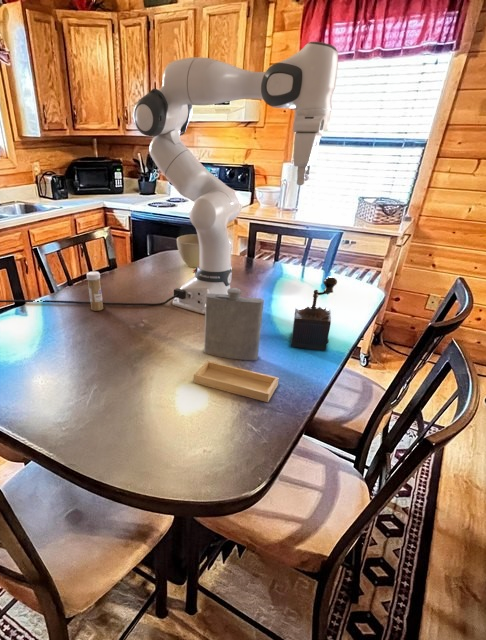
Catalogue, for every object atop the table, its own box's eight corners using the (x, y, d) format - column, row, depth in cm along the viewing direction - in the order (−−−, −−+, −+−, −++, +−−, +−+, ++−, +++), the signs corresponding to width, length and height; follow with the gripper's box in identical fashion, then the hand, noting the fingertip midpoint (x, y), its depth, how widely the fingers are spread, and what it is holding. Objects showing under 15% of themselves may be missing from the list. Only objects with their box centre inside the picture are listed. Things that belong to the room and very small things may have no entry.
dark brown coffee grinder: (328, 351, 122) (340, 293, 113) (289, 347, 125) (298, 289, 115) (327, 329, 135) (338, 275, 125) (292, 326, 138) (300, 272, 128)
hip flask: (258, 356, 121) (265, 289, 110) (256, 362, 117) (263, 295, 107) (205, 348, 125) (207, 284, 114) (202, 354, 122) (203, 288, 111)
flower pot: (174, 270, 191) (173, 243, 185) (180, 259, 206) (179, 233, 200) (213, 271, 188) (213, 244, 182) (216, 260, 203) (217, 234, 197)
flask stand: (193, 382, 109) (193, 374, 108) (207, 367, 115) (207, 360, 114) (267, 402, 101) (268, 394, 99) (277, 385, 107) (278, 377, 106)
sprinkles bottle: (102, 311, 151) (97, 275, 143) (89, 311, 151) (84, 274, 144) (104, 306, 154) (100, 271, 147) (92, 306, 155) (88, 270, 148)
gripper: (303, 122, 115) (296, 177, 123) (292, 123, 99) (285, 186, 107) (327, 122, 113) (318, 178, 121) (320, 123, 97) (310, 187, 105)
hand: (302, 182), depth 114 cm, fingers open, 8 cm apart
